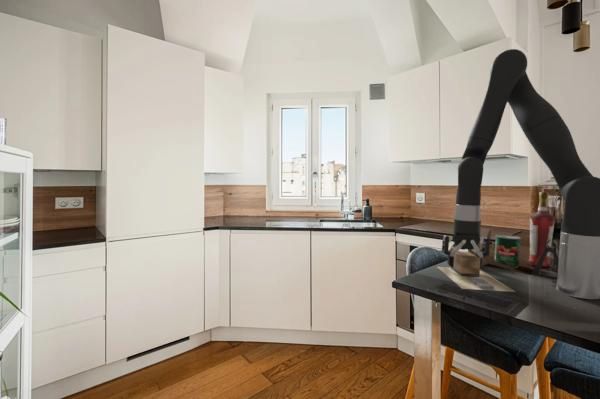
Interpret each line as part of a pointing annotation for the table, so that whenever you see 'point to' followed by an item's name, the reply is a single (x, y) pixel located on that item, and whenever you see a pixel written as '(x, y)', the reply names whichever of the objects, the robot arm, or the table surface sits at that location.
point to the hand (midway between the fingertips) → (464, 267)
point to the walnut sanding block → (466, 264)
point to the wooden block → (483, 233)
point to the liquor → (540, 231)
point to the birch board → (466, 281)
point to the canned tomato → (507, 250)
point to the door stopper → (541, 260)
